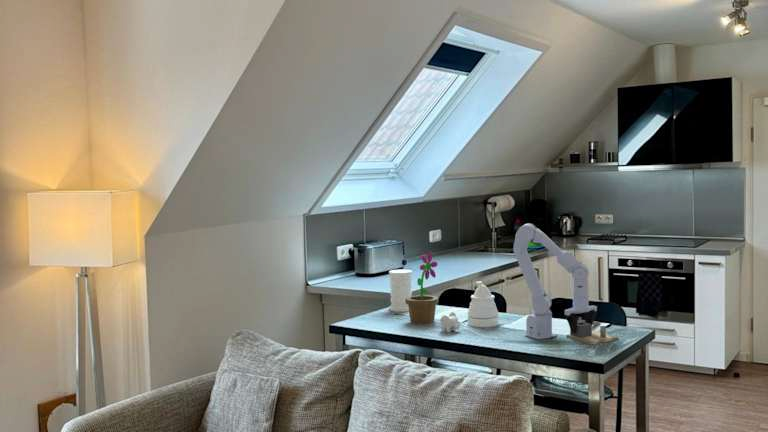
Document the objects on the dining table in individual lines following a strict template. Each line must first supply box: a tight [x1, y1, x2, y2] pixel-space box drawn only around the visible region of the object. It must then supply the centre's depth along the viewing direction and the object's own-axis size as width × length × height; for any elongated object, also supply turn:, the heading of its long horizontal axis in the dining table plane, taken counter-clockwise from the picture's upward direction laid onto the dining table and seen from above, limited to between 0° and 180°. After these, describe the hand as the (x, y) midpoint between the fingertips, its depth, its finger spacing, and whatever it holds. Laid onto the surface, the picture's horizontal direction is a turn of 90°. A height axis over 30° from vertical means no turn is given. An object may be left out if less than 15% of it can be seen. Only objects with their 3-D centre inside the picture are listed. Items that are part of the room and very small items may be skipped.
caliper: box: [577, 316, 601, 326], centre depth 298 cm, size 21×1×6 cm, turn 140°
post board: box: [566, 325, 620, 345], centre depth 281 cm, size 14×13×5 cm
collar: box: [569, 322, 593, 338], centre depth 282 cm, size 6×6×4 cm
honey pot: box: [467, 281, 499, 328], centre depth 311 cm, size 13×13×18 cm
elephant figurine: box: [439, 311, 463, 333], centre depth 299 cm, size 8×10×7 cm
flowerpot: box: [405, 251, 440, 325], centre depth 318 cm, size 14×14×30 cm
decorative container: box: [388, 269, 413, 313], centre depth 346 cm, size 12×12×18 cm
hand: (580, 331), depth 282 cm, fingers open, 7 cm apart
